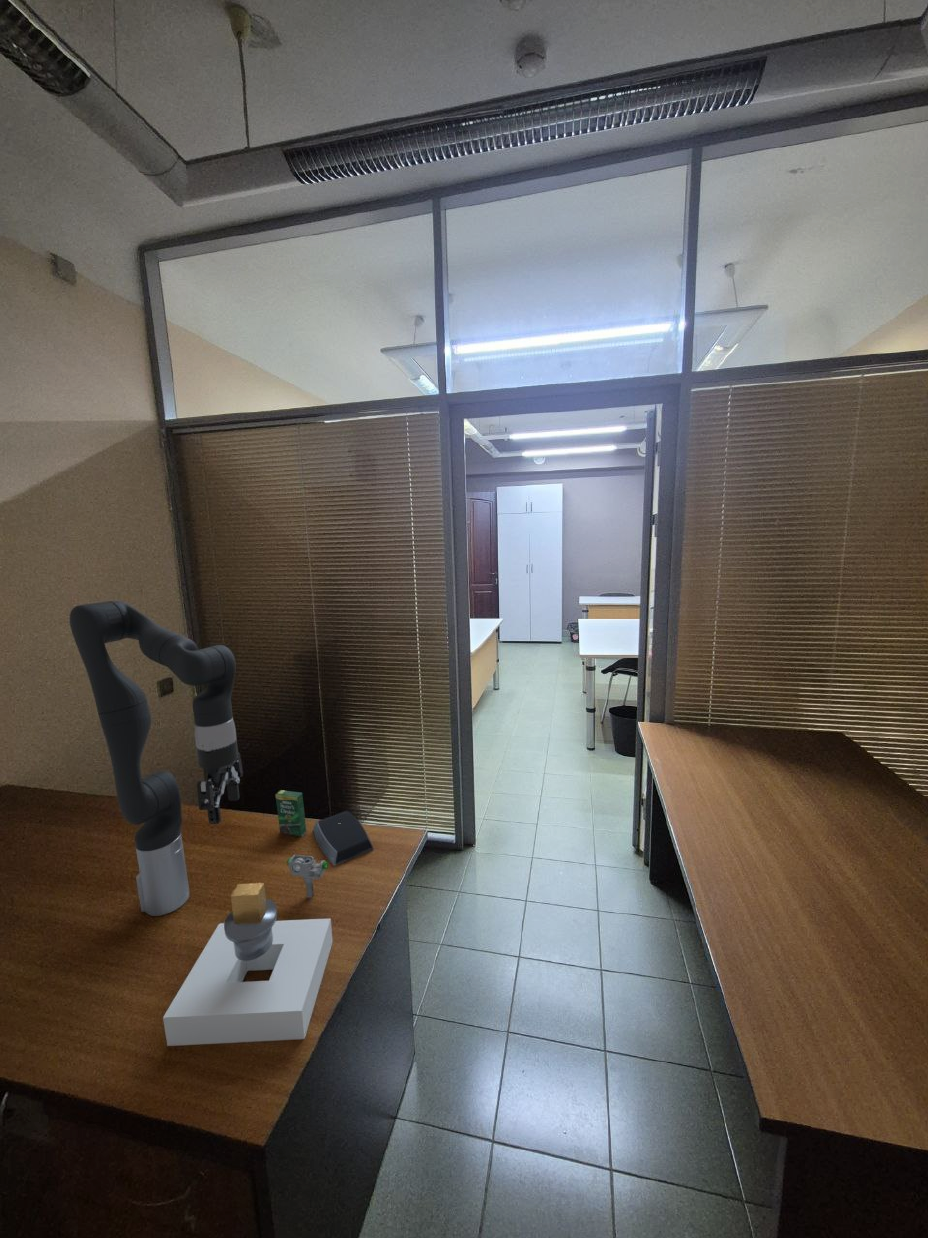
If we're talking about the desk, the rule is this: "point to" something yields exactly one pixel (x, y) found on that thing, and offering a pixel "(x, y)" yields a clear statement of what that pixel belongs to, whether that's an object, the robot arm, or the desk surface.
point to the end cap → (250, 921)
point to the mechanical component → (307, 870)
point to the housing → (252, 988)
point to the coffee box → (291, 813)
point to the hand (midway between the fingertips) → (225, 811)
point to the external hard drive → (341, 837)
